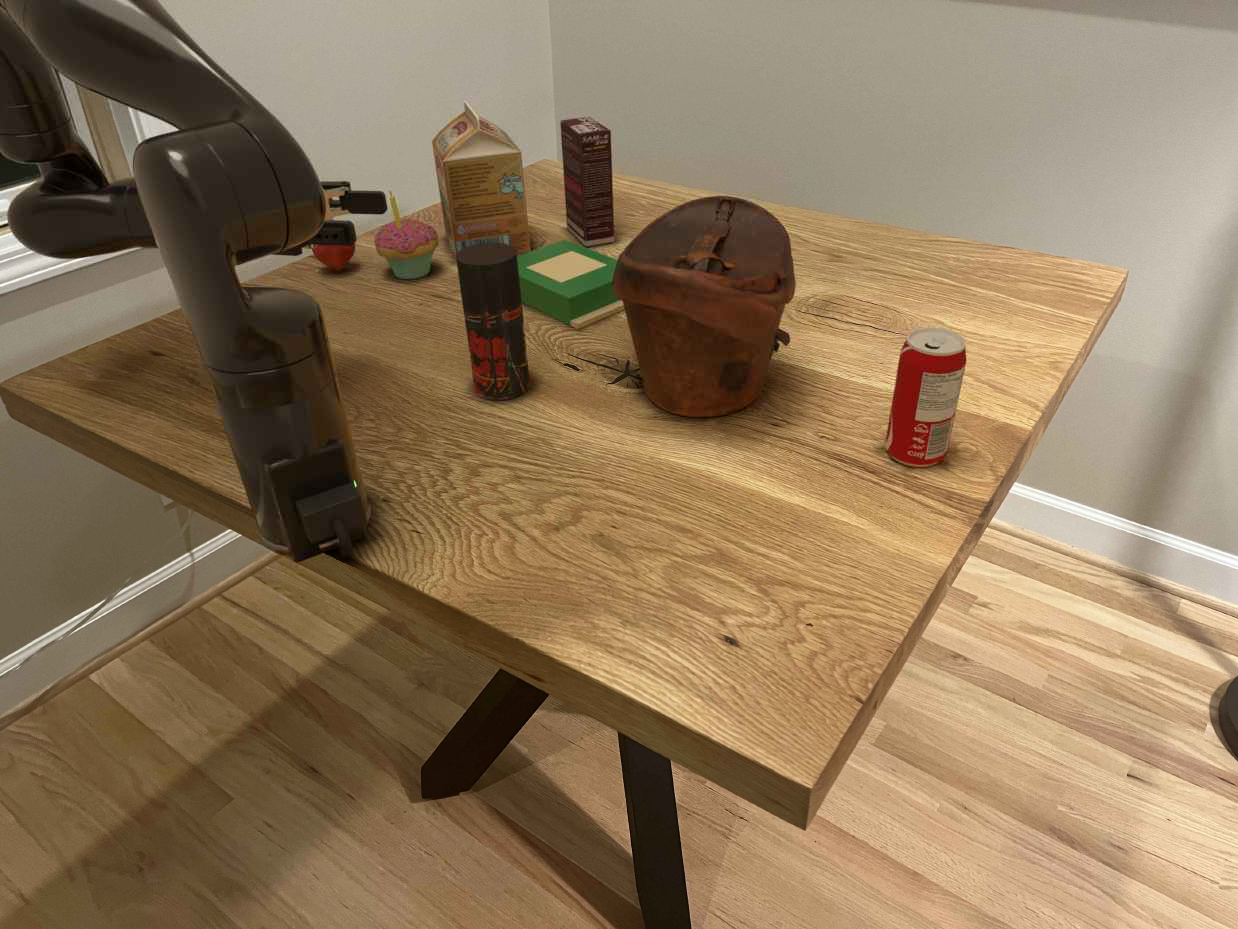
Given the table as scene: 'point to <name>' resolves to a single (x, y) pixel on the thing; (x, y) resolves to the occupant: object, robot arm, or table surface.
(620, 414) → the table surface
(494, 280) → the deodorant
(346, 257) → the onion
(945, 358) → the soda can
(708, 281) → the case
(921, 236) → the table surface
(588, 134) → the supplement box
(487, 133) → the milk carton
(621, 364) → the table surface
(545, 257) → the green box
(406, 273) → the cupcake
